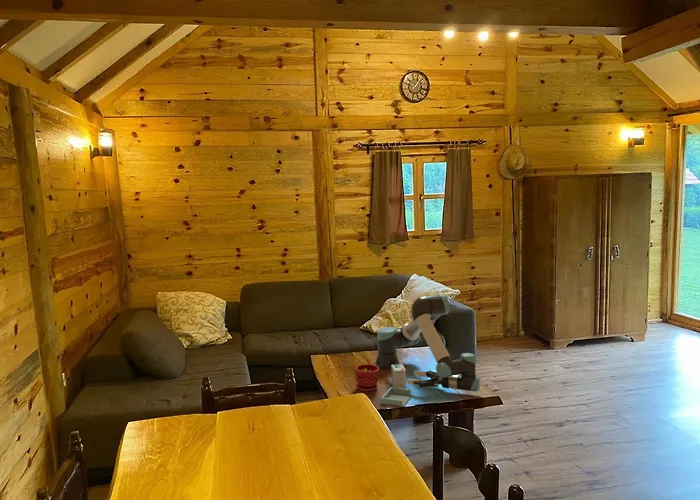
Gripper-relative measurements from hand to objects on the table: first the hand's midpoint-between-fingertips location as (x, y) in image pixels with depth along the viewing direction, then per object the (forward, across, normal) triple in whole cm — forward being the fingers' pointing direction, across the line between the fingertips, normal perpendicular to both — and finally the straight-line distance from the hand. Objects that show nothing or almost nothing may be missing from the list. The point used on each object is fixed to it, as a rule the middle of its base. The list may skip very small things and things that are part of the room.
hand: (411, 377), depth 282 cm
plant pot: (+22, -8, -6) cm, 25 cm away
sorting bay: (+2, -19, -6) cm, 20 cm away
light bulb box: (+7, 0, -6) cm, 10 cm away
